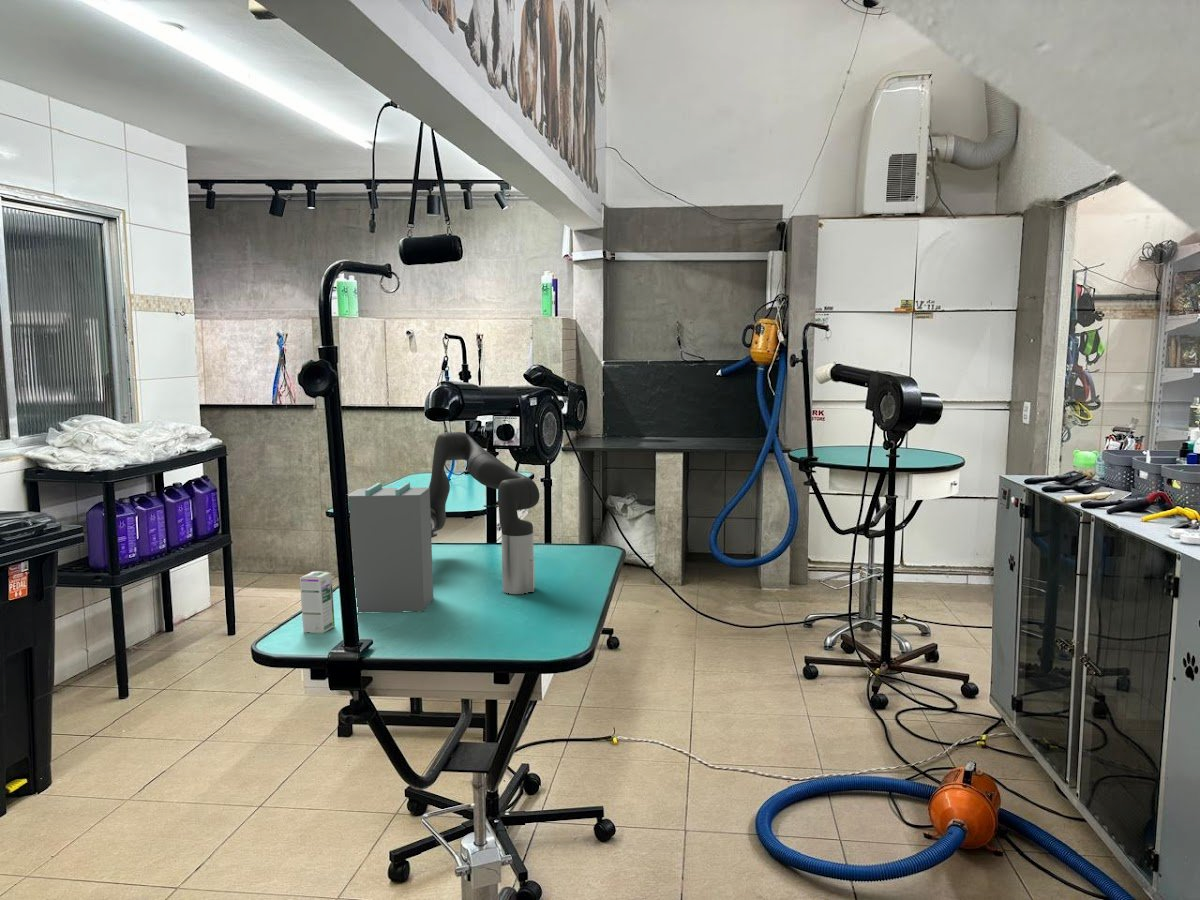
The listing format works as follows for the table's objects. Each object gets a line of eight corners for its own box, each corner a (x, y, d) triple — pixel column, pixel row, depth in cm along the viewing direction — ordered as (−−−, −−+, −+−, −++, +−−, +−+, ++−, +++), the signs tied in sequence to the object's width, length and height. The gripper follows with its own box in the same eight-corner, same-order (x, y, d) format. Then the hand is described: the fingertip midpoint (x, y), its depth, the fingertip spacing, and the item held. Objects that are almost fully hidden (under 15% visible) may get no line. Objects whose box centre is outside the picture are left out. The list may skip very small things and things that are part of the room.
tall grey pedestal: (433, 597, 243) (429, 482, 240) (424, 611, 229) (419, 489, 226) (363, 598, 243) (358, 483, 240) (349, 613, 229) (344, 490, 226)
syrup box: (323, 633, 212) (320, 576, 210) (302, 632, 213) (299, 576, 211) (335, 626, 217) (332, 571, 216) (314, 625, 218) (311, 570, 217)
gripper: (399, 516, 277) (386, 526, 260) (442, 515, 278) (432, 526, 260) (400, 538, 278) (387, 550, 261) (442, 538, 278) (433, 550, 261)
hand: (410, 538), depth 261 cm, fingers closed on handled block, 3 cm apart
